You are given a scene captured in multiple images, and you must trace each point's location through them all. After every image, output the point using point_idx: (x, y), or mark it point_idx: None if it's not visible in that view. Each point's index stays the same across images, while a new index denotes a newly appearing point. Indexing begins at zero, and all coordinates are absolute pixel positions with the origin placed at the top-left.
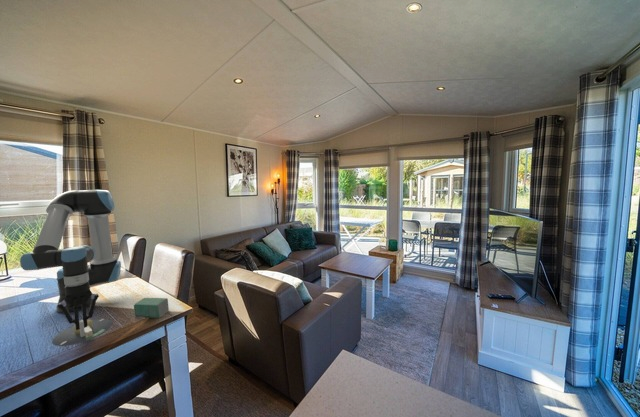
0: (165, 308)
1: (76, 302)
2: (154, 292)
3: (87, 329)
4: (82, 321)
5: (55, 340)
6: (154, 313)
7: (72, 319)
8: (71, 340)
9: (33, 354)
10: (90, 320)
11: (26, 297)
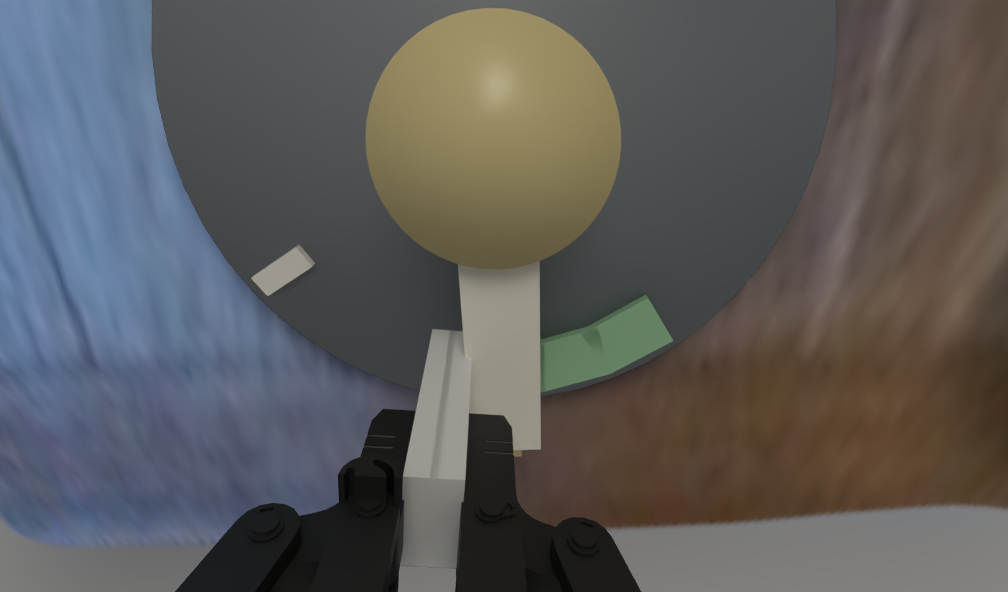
0: None
1: None
2: None
3: (505, 386)
4: (446, 554)
5: (190, 93)
6: None
7: (288, 586)
8: (355, 268)
9: (34, 176)
10: (602, 155)
11: None
